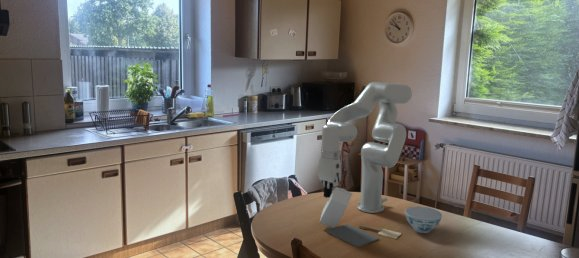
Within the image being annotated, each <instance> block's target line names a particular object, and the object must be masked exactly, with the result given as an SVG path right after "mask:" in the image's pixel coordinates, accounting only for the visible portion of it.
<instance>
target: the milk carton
mask: <svg viewBox="0 0 579 258" xmlns="http://www.w3.org/2000/svg"><path fill="white" fill-rule="evenodd" d="M352 196H353V193H352V192H351V191H350V192H349V191H348V190H347V189H346V188H342V187H341V188H340V187H338V186H335V187H333V188H332V193H331V195H330V197H328V198H327V202H325V205H324V207H323V209H322V212H321V215H320V219H319V223H320V224H322V225H324V226H328V227H329V228H331V229H333V228H336V227H338V226H337V225H338V224H339V223H340V221H341V219H342V217H343V216H344V213H345V212H346V209H347V208H348V206H349V205H350V204H349V203H350V200H351V197H352Z"/></svg>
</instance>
